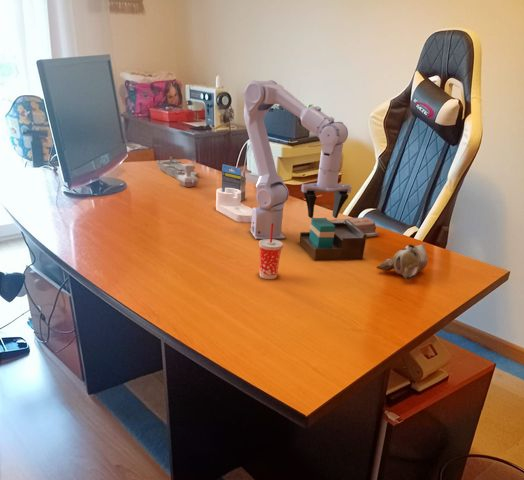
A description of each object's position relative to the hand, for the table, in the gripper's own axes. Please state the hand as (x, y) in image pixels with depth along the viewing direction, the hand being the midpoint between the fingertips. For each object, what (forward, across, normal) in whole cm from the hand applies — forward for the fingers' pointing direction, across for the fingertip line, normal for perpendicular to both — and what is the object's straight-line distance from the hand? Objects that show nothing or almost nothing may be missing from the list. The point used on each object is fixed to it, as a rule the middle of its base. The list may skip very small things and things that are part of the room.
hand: (322, 217), depth 152 cm
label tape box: (+10, -15, +56) cm, 59 cm away
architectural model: (+10, -32, +98) cm, 104 cm away
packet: (+7, 0, -2) cm, 8 cm away
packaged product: (+10, +15, +13) cm, 22 cm away
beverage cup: (+10, -21, -19) cm, 30 cm away
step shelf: (+10, +3, -2) cm, 11 cm away
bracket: (+10, -18, +36) cm, 42 cm away
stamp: (+10, -30, +75) cm, 82 cm away
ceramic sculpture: (+10, +18, -21) cm, 29 cm away
